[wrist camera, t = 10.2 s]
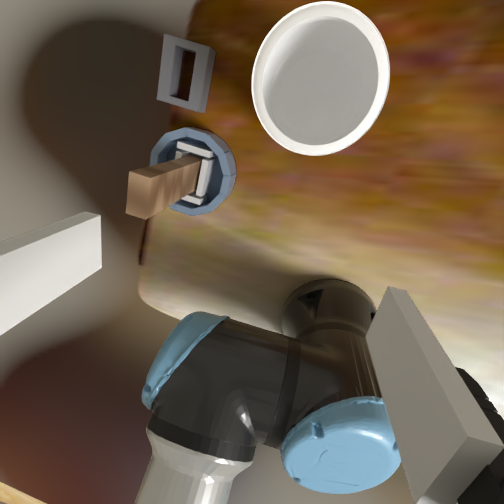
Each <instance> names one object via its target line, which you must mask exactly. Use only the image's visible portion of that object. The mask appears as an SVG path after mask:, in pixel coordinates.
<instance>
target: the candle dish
mask: <svg viewBox="0 0 504 504" xmlns="http://www.w3.org/2000/svg"><path fill="white" fill-rule="evenodd" d="M189 155H196V156H199V157H202V158H205V159H203V160H202V165H201V170H200V175H199V181H198V186H197V190H195V191H193V192H192V193H190V194H188V195H186V196H185V197H183V198H181V199H180V200H178V201H176V202H175V203H173V204H171V205H170V206H169V207H170V208H171V209H173V210H175V211H178V212H181V213H184V214H187V215H190V216H196V215H200V214H205V213H210V212H212V211H213V210H214V209H216V208H217V207H218V206H219V205H220V204H221V203H222V202H223V201H224V200H225V199H226V198H227V197H228V196H229V195H230V194H231V193H232V190H233V187H234V185H235V182H236V174H237V170H236V162H235V159H234V156H233V154H232V151H231V150H230V148H229V147H228V145H227V144H226V143H225V142H224V141H223V140H222V139H221V138H220V137H219V136H217V135H216V134H214V133H212V132H210V131H207V130H204V129H198V128H195V127H185V128H181V129H178V130H175V131H171V132H168V133H165V134H164V135H163V136H162V138H161V139H160V140H159V142H158V143H157V144H156V145H155V147H154V148H153V149H152V151H151V158H150V166H152V165H155V164H159V163H163V162H167V161H171V160H174V159H178V158H182V157H186V156H189Z"/></svg>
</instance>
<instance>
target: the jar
mask: <svg viewBox="0 0 504 504" xmlns="http://www.w3.org/2000/svg"><path fill="white" fill-rule="evenodd" d="M389 81H390V63H389V56H388V52H387V48H386V45H385V43H384V40H383V38H382V36H381V34H380V32H379V31H378V29H377V28H376V26H375V25H374V24H373V23H372V21H371V20H370V19H369V18H368V17H367V16H365V15H364V14H363V13H361V12H360V11H359V10H357V9H355V8H353V7H351V6H349V5H346V4H343V3H338V2H331V1H322V2H315V3H310V4H307V5H304V6H302V7H299V8H297V9H295V10H293V11H292V12H290V13H289V14H287V15H286V16H285V17H283V18H282V19H281V20H280V21H279V22H278V23H277V24H276V25H275V26H274V27H273V28H272V29H271V30H270V32H269V33H268V35H267V36H266V38H265V39H264V41H263V43H262V45H261V47H260V49H259V51H258V53H257V56H256V59H255V63H254V67H253V73H252V97H253V103H254V107H255V110H256V113H257V116H258V118H259V120H260V122H261V124H262V125H263V127H264V129H265V130H266V131H267V133H268V134H269V135H270V136H271V137H272V138H273V139H274V140H275V141H276V142H277V143H279V144H280V145H281V146H283V147H285V148H286V149H288V150H290V151H293V152H296V153H299V154H303V155H310V156H319V155H327V154H331V153H335V152H338V151H340V150H342V149H344V148H346V147H348V146H350V145H351V144H353V143H354V142H356V141H357V140H358V139H359V138H361V137H362V136H363V135H364V134H365V133H366V132H367V131H368V130H369V128H370V127H371V126H372V125H373V123H374V122H375V120H376V119H377V117H378V115H379V114H380V112H381V109H382V107H383V105H384V102H385V99H386V96H387V92H388V88H389Z"/></svg>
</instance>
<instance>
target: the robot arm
mask: <svg viewBox="0 0 504 504" xmlns="http://www.w3.org/2000/svg"><path fill="white" fill-rule="evenodd" d="M100 268H102V250H101V216H100V215H98V214H93V213H89V212H86V211H85V212H82V213H80V214H77V215H74V216H71V217H68V218H66V219H63V220H60V221H57V222H55V223H52V224H49V225H47V226H44V227H41V228H38V229H35V230H32V231H30V232H27V233H24V234H21V235H19V236H16V237H13V238H10V239H8V240H5V241H2V242H0V335H2V334H3V333H4V332H6V331H8V330H9V329H11V328H12V327H14V326H15V325H17V324H18V323H20V322H21V321H22V320H24V319H26V318H27V317H29V316H30V315H32V314H33V313H35V312H36V311H38V310H39V309H41V308H42V307H44V306H45V305H47V304H48V303H50V302H51V301H53V300H54V299H56V298H57V297H58V296H60V295H62V294H63V293H65V292H66V291H68V290H69V289H71V288H72V287H74V286H75V285H76V284H78V283H80V282H81V281H83V280H84V279H86V278H87V277H89V276H90V275H92V274H93V273H94V272H96V271H97V270H99V269H100ZM281 323H282V332H283V334H279V333H276V332H272V331H269V330H265V329H262V328H259V327H256V326H252V325H249V324H246V323H243V322H239V321H236V320H233V319H230V317H229V316H219V315H214V314H210V313H206V312H201V311H199V312H194V313H191V314H189V315H187V316H186V317H185V318H184V319H182V320H181V322H179V323H178V324H177V326H176V327H175V328H174V329H173V331H172V332H171V333H170V335H169V336H168V338H167V339H166V341H165V342H164V344H163V346H162V347H161V349H160V351H159V352H158V354H157V356H156V358H155V360H154V362H153V364H152V366H151V368H150V371H149V373H148V375H147V379H146V384H145V386H144V388H143V392H142V402H143V404H144V405H145V406H146V407H147V409H150V410H153V412H152V415H151V418H150V420H149V423H148V425H147V428H146V432H147V435H148V438H149V440H150V443H151V445H152V450H153V454H152V457H151V460H150V463H149V465H148V468H147V471H146V474H145V476H144V479H143V482H142V485H141V488H140V490H139V493H138V496H137V498H136V502H135V504H227V501H228V497H229V493H230V489H231V485H232V481H233V479H234V477H235V476H236V475H237V474H238V473H240V472H241V471H243V470H244V469H246V468H247V467H249V466H250V465H251V464H252V462H253V457H254V453H255V448H256V445H257V443H261V444H264V445H267V446H270V447H274V448H276V449H279V450H280V453H281V459H282V462H283V466H284V469H285V470H286V472H287V474H288V475H289V476H290V477H293V478H294V480H295V481H296V482H297V483H298V484H300V485H302V486H304V487H306V488H308V489H311V490H314V491H319V492H323V493H333V494H342V493H343V494H345V493H354V492H359V491H362V490H365V489H369V488H372V487H374V486H377V485H379V484H380V483H382V482H384V481H385V480H386V479H388V478H389V477H390V476H391V475H392V474H393V473H394V472H395V471H396V469H397V468H398V466H399V465H400V462H401V460H402V464H403V467H404V471H405V474H406V478H407V481H408V484H409V488H410V491H411V495H412V498H413V502H414V504H456V503H457V502H458V504H504V420H503V418H502V417H501V416H500V415H499V414H497V412H498V411H497V410H496V408H495V407H494V405H493V404H492V402H490V401H489V398H488V397H487V395H486V394H485V392H484V391H483V389H482V388H481V386H480V385H479V384H478V383H477V382H476V381H475V380H474V379H473V378H472V377H471V376H470V375H469V374H468V373H467V372H466V371H465V370H464V369H461V368H457V367H454V365H453V364H452V362H451V360H450V359H449V357H448V356H447V354H446V353H445V351H444V349H443V348H442V346H441V345H440V343H439V342H438V340H437V338H436V337H435V335H434V334H433V332H432V330H431V329H430V327H429V326H428V324H427V323H426V321H425V319H424V318H423V316H422V315H421V313H420V312H419V310H418V308H417V307H416V305H415V304H414V302H413V301H412V299H411V297H410V296H409V294H408V293H407V291H405V290H401V289H397V288H393V287H389V286H388V287H387V290H386V292H385V294H384V296H383V299H382V301H381V303H380V305H379V307H378V310H376V308H375V305H374V303H373V301H372V300H371V298H370V297H369V296H368V295H367V294H366V293H365V292H364V291H363V290H361V289H360V288H359V287H357V286H355V285H353V284H351V283H348V282H345V281H341V280H335V279H323V280H316V281H313V282H309V283H307V284H305V285H303V286H301V287H299V288H298V289H297V290H295V291H294V292H293V293H292V294H291V295H290V296H289V298H288V299H287V301H286V303H285V305H284V308H283V313H282V322H281Z"/></svg>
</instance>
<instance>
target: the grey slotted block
mask: <svg viewBox="0 0 504 504" xmlns="http://www.w3.org/2000/svg"><path fill="white" fill-rule="evenodd" d="M184 50H185V51H188V52H191V53H195V54H196V57H195V63H194V69H193V76H192V82H191V88H190V95H189V101H186V100H183V99H180V98H177V94H178V87H179V80H180V72H181V65H182V58H183V51H184ZM215 55H216V52H215V51H214V50H213V49H212V48H210V47H208V46H205V45H201V44H198V43H195V42H191V41H188V40H185V39H181V38H178V37H175V36H171V35H168V34H164V41H163V49H162V58H161V67H160V75H159V84H158V93H157V100H161V101H164V102H168V103H170V104H174V105H177V106H180V107H183V108H186V109H190V110H193V111H196V112H201V113H205V110H206V104H207V99H208V93H209V88H210V83H211V77H212V72H213V66H214V61H215Z"/></svg>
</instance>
